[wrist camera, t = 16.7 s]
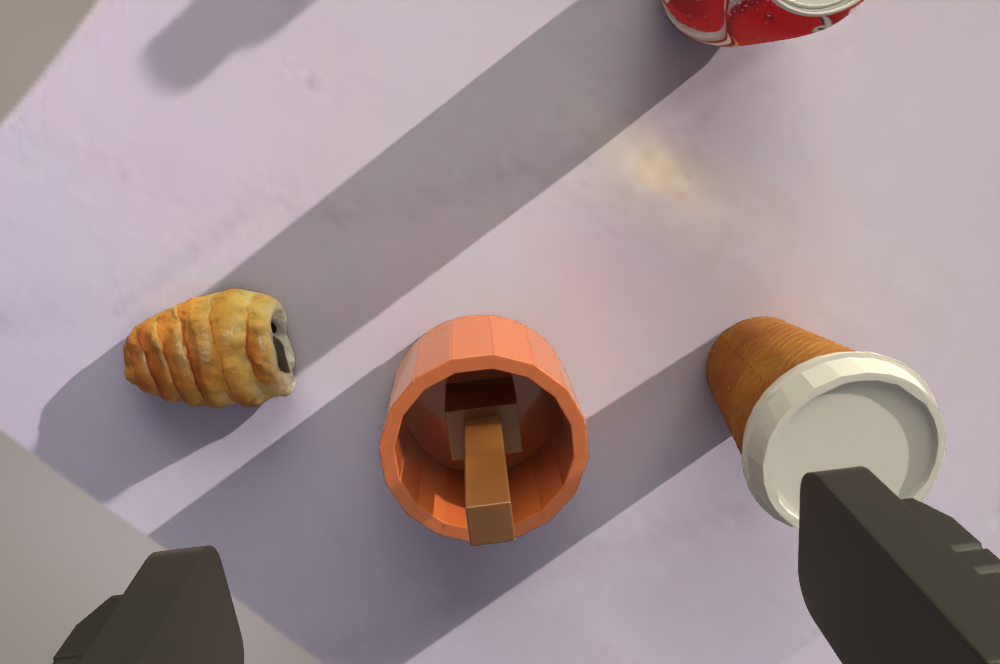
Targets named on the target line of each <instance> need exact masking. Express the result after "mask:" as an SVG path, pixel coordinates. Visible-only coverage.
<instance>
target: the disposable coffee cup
mask: <svg viewBox="0 0 1000 664" xmlns="http://www.w3.org/2000/svg"><path fill="white" fill-rule="evenodd" d="M706 376H707V381H708V384H709V387H710V389H711V391H712V393H713V395H714V397H715V399H716V401H717V404H718V406H719V408H720V410H721V412H722V414H723V416H724V419H725V421H726V423H727V425H728V427H729V429H730V432H731V433H732V436H733V438H734V440H735V442H736V445H737V447H738V449H739V451H740V453H741V455H742V465H743V472H744V476H745V479H746V482H747V485H748V488H749V490H750V491H751V493H752V495H753V496H754V498H755V500H756V501H757V502H758V503H759V504H760V506H761V507H762V508H763V509H764V510H765V511H766V512H768V513H769V514H770V515H771V516H772V517H774V518H775V519H777V520H779V521H781V522H783V523H785V524H787V525H789V526H791V527H795V528H797V529H799V508H800V485H801V480H802V478H803V476H804V475H805V474H806V473H809V472H816V471H824V470H832V469H841V468H849V467H857V466H864V467H866V468H868V469H869V470H870V471H871V472H872V473H873V474H874V475H875V476H877V477H878V478H879V479H880V480H881V481H882V482H883V483H884V484H885V485H886V486H887V487H888V488H889V489H890V490H891V491H892V492H894V493H895V494H896V495H897V496H898V497H899V498H900V499H906V498H914V499H916V500H918V501H921V500H922V499H923V498H924V496H925V495H926V494H927V493H928V492H929V490H930V489H931V487H932V485H933V484H934V482H935V480H936V479H937V476H938V474H939V471H940V469H941V467H942V464H943V459H944V453H945V445H946V432H945V425H944V422H943V419H942V416H941V413H940V411H939V409H938V407H937V404H936V401H935V398H934V396H933V394H932V393H931V391H930V389H929V387H928V386H927V384H926V382H925V381H924V380H923V379H922V378H921V377H920V376H919V375H918V374H917V373H916V372H915V371H913V370H912V369H911V368H909V367H908V366H906V365H905V364H904V363H902V362H899V361H897V360H895V359H893V358H891V357H887V356H883V355H880V354H876V353H872V352H856V351H855V350H852V349H849V348H848V347H844V346H842V345H840V344H837V343H835V342H833V341H830V340H828V339H825V338H823V337H820V336H818V335H817V334H813V333H811V332H808V331H806V330H804V329H801V328H799V327H796V326H794V325H791V324H789V323H787V322H785V321H783V320H780V319H777V318H773V317H766V316H765V317H754V318H750V319H746V320H743V321H741V322H739V323H736V324H735V325H733V326H732V327H730V328H729V329H727V330H726V331H725V332H724V333H723V334H722V335H721V336H720V337H719V338H718V340H717V341H716V343H715V344H714V345H713V347H712V349H711V351H710V353H709V357H708V361H707V370H706Z"/></svg>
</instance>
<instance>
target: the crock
mask: <svg viewBox="0 0 1000 664" xmlns="http://www.w3.org/2000/svg"><path fill="white" fill-rule="evenodd" d="M510 376H512V377H513V381H514V387H515V392H516V398H517V404H518V412H519V421H520V430H521V439H522V448H523V452H519V453H511V454H505V457H506V465H507V474H508V482H509V490H510V498H511V507H512V515H513V523H514V531H515V537H516V538H517V537H519V536H521V535H523V534H525V533H527V532H529V531H531V530H533V529H535V528H537V527H539V526H541V525H543V524H545V523H547V522H549V521H550V520H551V519H552V518H553V517H554V516H555V515H556V514H557V513H558V512H559V511H560V510H561V508H562V507H563V506H564V505H565V504H566V503H567V502H568V501H569V500H570V499H571V498H572V496H573V495H574V494H575V492H576V491H577V489H578V486H579V483H580V480H581V477H582V475H583V472H584V469H585V466H586V464H587V461H588V457H589V454H588V442H587V429H586V421H585V418H584V416H583V413H582V410H581V407H580V405H579V402H578V399H577V397H576V394H575V391H574V389H573V386H572V383H571V381H570V378H569V376H568V374H567V372H566V370H565V368H564V366H563V364H562V362H561V360H560V358H559V356H558V355H557V353H556V352H555V350H554V349H553V348H552V347H551V345H550V344H549V343H548V342H547V341H546V340H545V339H544V338H543V337H541V336H540V335H539V334H538V333H537V332H535V331H534V330H532V329H531V328H529V327H527V326H525V325H523V324H521V323H519V322H517V321H514V320H511V319H508V318H504V317H499V316H491V315H472V316H466V317H460V318H456V319H453V320H450V321H447V322H445V323H443V324H441V325H438V326H436V327H435V328H433V329H432V330H430V331H428V332H427V333H426V334H424V335H423V336H422V337H421V338H420V339H418V340H417V341H416V342H415V343H414V345H413V346H412V347H411V348H410V349H409V350H408V352H407V353H406V355H405V356H404V358H403V359H402V361H401V363H400V365H399V367H398V368H397V372H396V376H395V379H394V383H393V387H392V391H391V395H390V399H389V403H388V408H387V412H386V416H385V421H384V425H383V430H382V434H381V439H380V443H379V451H380V457H381V462H382V468H383V473H384V479H385V483H386V485H387V486H388V488H389V489H390V491H391V492H392V493H393V495H394V496H395V498H396V499H397V501H398V502H399V504H400V505H401V506H402V508H403V509H404V511H405V512H406V513H407V514H408V515H409V516H411V517H412V518H414V519H415V520H417V521H418V522H420V523H421V524H423V525H425V526H426V527H428V528H429V529H431V530H432V531H434V532H435V533H437V534H439V535H443V536H447V537H452V538H456V539H461V540H466V541H470V539H469V532H468V526H467V519H466V512H465V464H464V459H463V460H455V461H452V460H451V453H450V447H449V440H448V433H447V427H446V420H445V413H444V412H445V391H446V384H453V383H461V382H469V381H477V380H485V379H493V378H501V377H510Z"/></svg>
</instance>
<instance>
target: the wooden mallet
mask: <svg viewBox="0 0 1000 664" xmlns="http://www.w3.org/2000/svg"><path fill="white" fill-rule="evenodd" d="M444 413H445V420H446V427H447V433H448V440H449V447H450V453H451V460H452V461H455V460H463V459H464V464H465V512H466V519H467V526H468V532H469V539H470V545H471V546H476V545H484V544H492V543H500V542H508V541H514V540H515V531H514V523H513V515H512V507H511V498H510V490H509V482H508V474H507V465H506V457H505V454H511V453H519V452H523V448H522V439H521V430H520V421H519V412H518V404H517V398H516V392H515V387H514V381H513V377H512V376H510V377H501V378H493V379H485V380H477V381H469V382H461V383H453V384H446V391H445V412H444Z"/></svg>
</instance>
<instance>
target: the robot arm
mask: <svg viewBox="0 0 1000 664" xmlns="http://www.w3.org/2000/svg"><path fill="white" fill-rule="evenodd" d="M798 574H799V582H800V587H801V591H802V595H803V598H804V601H805V604H806V606H807V609H808V611H809V613H810V615H811V616H812V618H813V620H814V621H815V623H816V624H817V626H818V627H819V629H820V630H821V632H822V633H823V635H824V636H825V638H826V639H827V641H828V642H829V644H830V645H831V647H832V649H833V650H834V652H835V653H836V655H837V656H838V658H839V659H840V661H841V662H842V664H1000V559H999V558H997V557H996V556H995V555H994V554H993V553H992V552H991V551H989V550H988V549H983V548H982V546H981V543H980V542H979V541H978V540H977V539H976V538H975V537H974V536H972V535H971V534H970V533H969V532H968V531H967V530H966V529H965V528H963V527H962V526H961V525H960V524H959V523H958V522H957V521H955V520H954V519H953V518H952V517H950V516H948V515H946V514H944V513H942V512H940V511H938V510H936V509H934V508H932V507H930V506H928V505H926V504H924V503H922V502H920V501H918V500H916V499H914V498H906V499H900V498H899V497H898V496H897V495H896V494H895V493H894V492H892V491H891V490H890V489H889V488H888V487H887V486H886V485H885V484H884V483H883V482H882V481H881V480H880V479H879V478H878V477H877V476H875V475H874V474H873V473H872V472H871V471H870V470H869V469H868V468H866V467H864V466H857V467H849V468H841V469H832V470H824V471H816V472H809V473H806V474H805V475H804V476H803V478H802V480H801V485H800V508H799V552H798ZM53 659H54V662H53V664H244V648H243V641H242V636H241V632H240V628H239V625H238V621H237V617H236V613H235V610H234V606H233V602H232V599H231V595H230V591H229V588H228V584H227V580H226V577H225V573H224V569H223V566H222V562H221V559H220V556H219V554H218V552H217V550H216V549H215V548H214V547H213V546H200V547H192V548H184V549H176V550H168V551H160V552H154V553H152V554H151V555H150V556H149V557H148V558H147V559H146V560H145V562H144V564H143V565H142V567H141V568H140V570H139V571H138V573H137V574H136V576H135V577H134V579H133V580H132V582H131V583H130V585H129V586H128V588H127V589H126V591H125V593H124V594H123V595H115V596H111V597H110V598H109V599H107V600H106V601H105V602H104V603H103V604H101V605H100V606H99V607H98V608H97V609H95V610H94V611H93V612H92V613H91V614H89V615H88V616H87V617H86V618H85V619H84V620H82V621H81V622H80V623H79V624H77V625H76V627H75V628H74V630H73V631H72V632H71V634H70V635H69V636H68V638H67V639H66V641H65V642H64V644H63V645H62V646H61V648H60V649H59V651H58V652H57V653H56V655H55V656H54V658H53Z"/></svg>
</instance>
